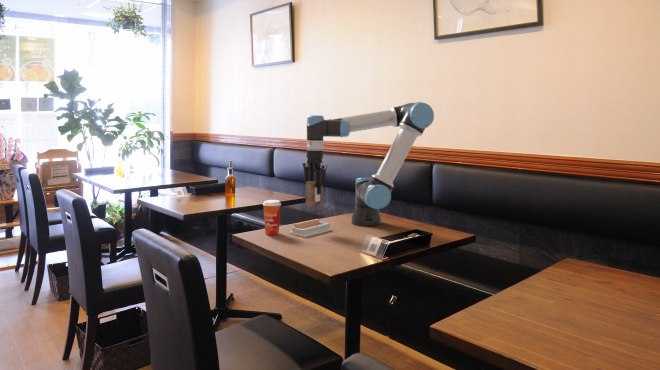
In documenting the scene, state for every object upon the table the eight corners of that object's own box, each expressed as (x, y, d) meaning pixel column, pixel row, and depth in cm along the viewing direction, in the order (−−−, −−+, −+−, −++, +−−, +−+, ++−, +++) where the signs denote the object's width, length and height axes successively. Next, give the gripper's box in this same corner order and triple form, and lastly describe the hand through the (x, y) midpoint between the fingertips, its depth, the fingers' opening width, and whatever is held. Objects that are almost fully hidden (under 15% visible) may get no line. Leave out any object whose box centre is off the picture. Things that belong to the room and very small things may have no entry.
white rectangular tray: (316, 226, 234) (316, 217, 233) (332, 230, 228) (332, 221, 227) (289, 233, 221) (289, 223, 220) (305, 237, 214) (305, 227, 213)
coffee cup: (259, 234, 217) (259, 201, 215) (268, 231, 225) (268, 199, 223) (276, 236, 214) (276, 203, 212) (284, 232, 222) (284, 200, 219)
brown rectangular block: (310, 206, 220) (310, 182, 218) (305, 205, 222) (305, 181, 220) (322, 204, 226) (322, 181, 224) (317, 203, 228) (317, 180, 226)
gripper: (296, 148, 223) (296, 199, 226) (322, 151, 212) (321, 204, 215) (307, 148, 228) (307, 197, 232) (333, 150, 218) (332, 202, 221)
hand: (314, 200), depth 223 cm, fingers closed on brown rectangular block, 3 cm apart
